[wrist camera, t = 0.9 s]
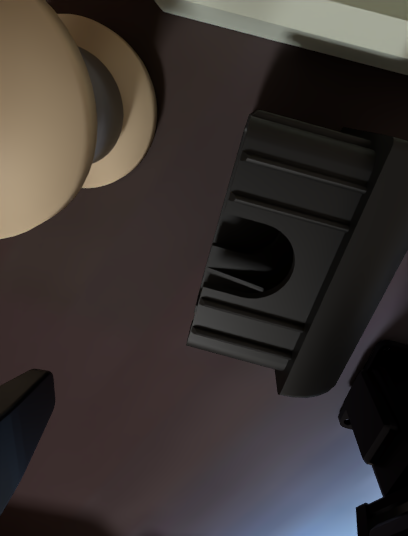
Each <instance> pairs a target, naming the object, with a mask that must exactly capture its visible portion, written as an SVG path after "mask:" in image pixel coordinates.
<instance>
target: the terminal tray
mask: <svg viewBox="0 0 408 536" xmlns="http://www.w3.org/2000/svg"><path fill="white" fill-rule="evenodd" d="M154 1H155V2H156V3H157V5H158V6H159V7H160V8H161V9H162V11H163V12H167V13H170V14H174V15H178V16H182V17H186V18H190V19H193V20H197V21H201V22H205V23H209V24H213V25H216V26H220V27H224V28H228V29H232V30H236V31H240V32H243V33H247V34H251V35H255V36H259V37H263V38H266V39H270V40H274V41H278V42H282V43H286V44H289V45H293V46H297V47H301V48H305V49H309V50H312V51H316V52H320V53H324V54H328V55H332V56H335V57H339V58H343V59H347V60H351V61H355V62H358V63H362V64H366V65H370V66H374V67H378V68H381V69H385V70H389V71H393V72H397V73H401V74H404V75H408V0H154Z"/></svg>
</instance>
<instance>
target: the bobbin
mask: <svg viewBox="0 0 408 536" xmlns="http://www.w3.org/2000/svg"><path fill="white" fill-rule="evenodd" d="M156 124H157V102H156V95H155V91H154V87H153V83H152V81H151V78H150V75H149V73H148V71H147V69H146V67H145V65H144V63H143V62H142V60H141V59H140V57H139V56H138V54H137V53H136V52H135V50H134V49H133V48H132V47H131V46H130V45H129V44H128V43H127V42H126V41H125V40H124V39H123V38H122V37H121V36H119V35H118V34H116V33H115V32H113V31H112V30H110V29H109V28H107V27H105V26H104V25H102V24H100V23H98V22H96V21H94V20H92V19H89V18H86V17H83V16H79V15H73V14H57V13H56V12H55V11H54V10H53V8H52V7H51V6H50V5H49V4H48V3H47V2H46V1H45V0H0V239H3V238H8V237H12V236H16V235H19V234H21V233H24V232H27V231H29V230H30V229H32V228H34V227H36V226H37V225H39V224H41V223H43V222H44V221H46V220H48V219H50V218H51V217H53V216H55V215H57V214H58V213H59V212H60V211H62V210H63V209H64V208H65V207H67V205H68V204H69V203H70V202H71V201H72V200H73V199H74V198H75V197H76V195H77V194H78V192H79V191H80V189H81V188H94V187H100V186H104V185H107V184H110V183H113V182H115V181H116V180H118V179H120V178H122V177H123V176H125V175H127V174H128V173H130V172H131V171H132V170H134V169H135V168H136V167H137V166H138V165H139V164H140V163H141V161H142V160H143V158H144V157H145V156H146V154H147V152H148V150H149V148H150V146H151V144H152V141H153V138H154V135H155V130H156Z"/></svg>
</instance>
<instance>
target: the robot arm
mask: <svg viewBox="0 0 408 536" xmlns="http://www.w3.org/2000/svg"><path fill="white" fill-rule="evenodd" d="M386 348H390V349H389V350H387V351H383V350H384V349H386ZM54 405H55V391H54V379H53V374H52V373H51V372H50V371H46V370H40V369H31V370H29V371H27V372H25V373H23V374H21V375H20V376H18V377H16V378H14V379H12V380H10V381H8V382H6V383H5V384H3V385H1V386H0V515H1V514H2V512H3V510H4V508H5V507H6V505H7V503H8V502H9V500H10V498H11V496H12V495H13V493H14V491H15V489H16V488H17V486H18V484H19V482H20V480H21V478H22V476H23V474H24V472H25V470H26V468H27V466H28V464H29V462H30V460H31V457H32V455H33V453H34V451H35V449H36V446H37V444H38V442H39V440H40V438H41V436H42V433H43V431H44V429H45V427H46V425H47V423H48V420H49V418H50V416H51V414H52V412H53V409H54ZM338 419H339V422H340V425H341V426H342V427H345V428H348V429H352V430H353V432H354V435H355V438H356V441H357V444H358V446H359V449H360V452H361V455H362V458H363V460H364V461H365V463H366V464H369V465H372V467H373V470H374V473H375V476H376V479H377V481H378V484H379V487H380V490H381V493H382V495H383V497H382V498H380V499H378V500H376V501H374V502H372V503H370V504H368V503H364V504H362V505H360V506H358V507H356V516H357V532H358V536H408V345H406V344H402V343H398V342H394V341H390V340H383V341H380V342H379V343H378V344H377V345H376V347H375V349H374V351H373V352H372V354H371V356H370V358H369V360H368V362H367V363H366V365H365V367H364V369H363V370H362V371H361V372H359V374H358V376H357V378H356V380H355V382H354V384H353V385H352V387H351V389H350V391H349V393H348V395H347V397H346V398H345V400H344V406H343V408H342V410H341V412H340V413H339V416H338ZM346 419H348V420H346Z"/></svg>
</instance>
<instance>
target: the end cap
mask: <svg viewBox="0 0 408 536" xmlns="http://www.w3.org/2000/svg"><path fill="white" fill-rule="evenodd" d="M407 250H408V141H406V140H403V139H399V138H395V137H392V136H387V135H381V134H376V133H371V132H366V131H361V130H356V129H351V128H345V127H343V128H342V129H341V131H340V132H338V131H334V130H331V129H327V128H323V127H320V126H316V125H313V124H309V123H305V122H302V121H298V120H295V119H291V118H287V117H284V116H280V115H277V114H273V113H270V112H266V111H262V110H256V111H255V112H253V113H252V114H249V117H248V120H247V123H246V126H245V129H244V132H243V136H242V139H241V143H240V147H239V150H238V154H237V157H236V161H235V164H234V168H233V172H232V175H231V179H230V182H229V186H228V189H227V193H226V197H225V200H224V204H223V207H222V211H221V214H220V218H219V222H218V225H217V229H216V232H215V236H214V239H213V243H212V246H211V250H210V254H209V257H208V261H207V264H206V268H205V271H204V275H203V279H202V284H201V287H200V291H199V295H198V298H197V302H196V307H195V311H194V313H195V316H194V319H193V320H192V324H191V327H190V331H189V336H188V340H187V344H186V345H187V346H191V347H194V348H198V349H202V350H205V351H209V352H213V353H216V354H220V355H224V356H228V357H231V358H235V359H239V360H242V361H246V362H250V363H253V364H257V365H261V366H265V367H268V368H272V369H275V375H276V383H277V392H278V394H279V395H284V396H289V397H299V398H308V397H315V396H319V395H321V394H324V393H326V392H328V391H329V390H330V389H332V388H333V387H334V386H335V385H336V383H337V381H338V379H339V377H340V375H341V373H342V372H343V370H344V368H345V366H346V364H347V362H348V360H349V358H350V357H351V355H352V353H353V351H354V349H355V347H356V345H357V343H358V342H359V340H360V338H361V336H362V334H363V332H364V330H365V329H366V327H367V325H368V323H369V321H370V319H371V317H372V315H373V314H374V312H375V310H376V308H377V306H378V304H379V302H380V300H381V299H382V297H383V295H384V293H385V291H386V289H387V287H388V285H389V284H390V282H391V280H392V278H393V276H394V274H395V272H396V270H397V269H398V267H399V265H400V263H401V261H402V259H403V257H404V255H405V254H406V252H407Z"/></svg>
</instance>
